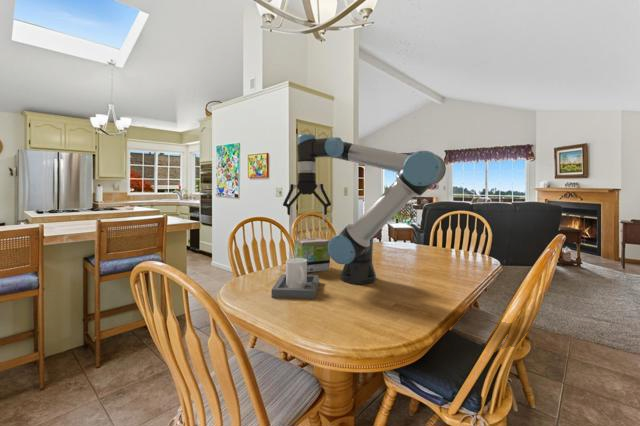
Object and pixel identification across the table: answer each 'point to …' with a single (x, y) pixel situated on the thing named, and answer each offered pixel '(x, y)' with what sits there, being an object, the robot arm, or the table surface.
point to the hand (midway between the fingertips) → (307, 222)
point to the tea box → (313, 253)
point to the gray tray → (306, 292)
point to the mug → (296, 272)
